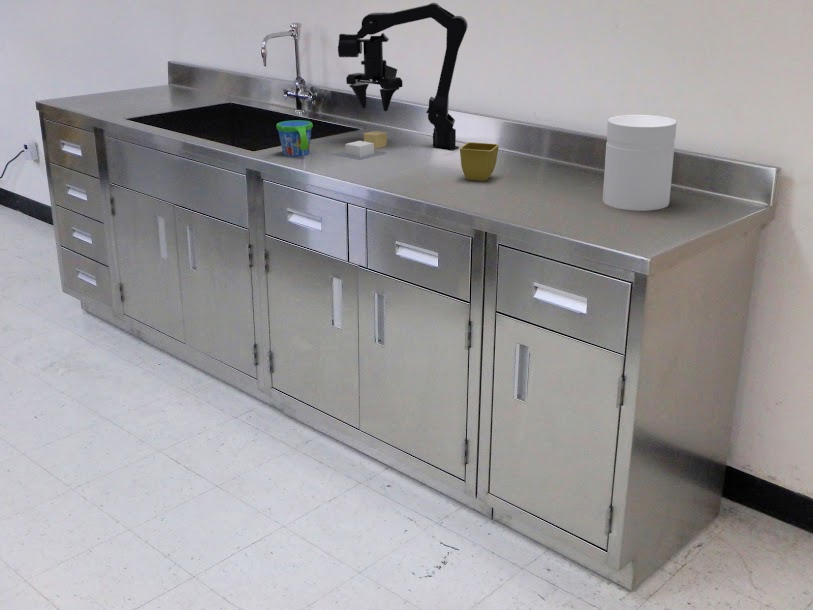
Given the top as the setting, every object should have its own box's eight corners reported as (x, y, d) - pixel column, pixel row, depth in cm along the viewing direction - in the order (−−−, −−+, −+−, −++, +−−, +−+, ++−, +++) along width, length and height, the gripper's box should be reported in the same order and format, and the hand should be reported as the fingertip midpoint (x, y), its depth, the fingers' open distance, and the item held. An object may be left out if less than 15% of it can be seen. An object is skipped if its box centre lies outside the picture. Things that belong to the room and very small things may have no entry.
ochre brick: (386, 148, 293) (386, 132, 291) (375, 151, 290) (375, 135, 288) (375, 146, 296) (374, 130, 294) (364, 149, 293) (363, 133, 291)
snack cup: (273, 153, 289) (271, 120, 285) (306, 150, 292) (305, 117, 289) (285, 164, 275) (282, 129, 272) (320, 160, 279) (318, 126, 275)
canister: (628, 213, 223) (634, 129, 216) (589, 197, 237) (594, 118, 230) (682, 205, 229) (691, 123, 222) (642, 190, 243) (648, 112, 235)
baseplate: (388, 156, 283) (388, 152, 283) (360, 163, 275) (360, 159, 275) (359, 150, 291) (359, 147, 290) (331, 157, 282) (331, 154, 282)
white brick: (374, 153, 283) (373, 143, 282) (360, 156, 279) (359, 146, 277) (359, 150, 286) (359, 140, 285) (345, 153, 282) (345, 143, 281)
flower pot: (498, 176, 259) (499, 143, 255) (490, 184, 251) (491, 150, 248) (467, 174, 261) (468, 141, 258) (458, 181, 254) (459, 148, 250)
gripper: (414, 56, 283) (415, 109, 289) (369, 52, 295) (371, 102, 301) (388, 60, 275) (390, 114, 281) (344, 56, 287) (346, 107, 293)
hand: (374, 109), depth 289 cm, fingers open, 9 cm apart
